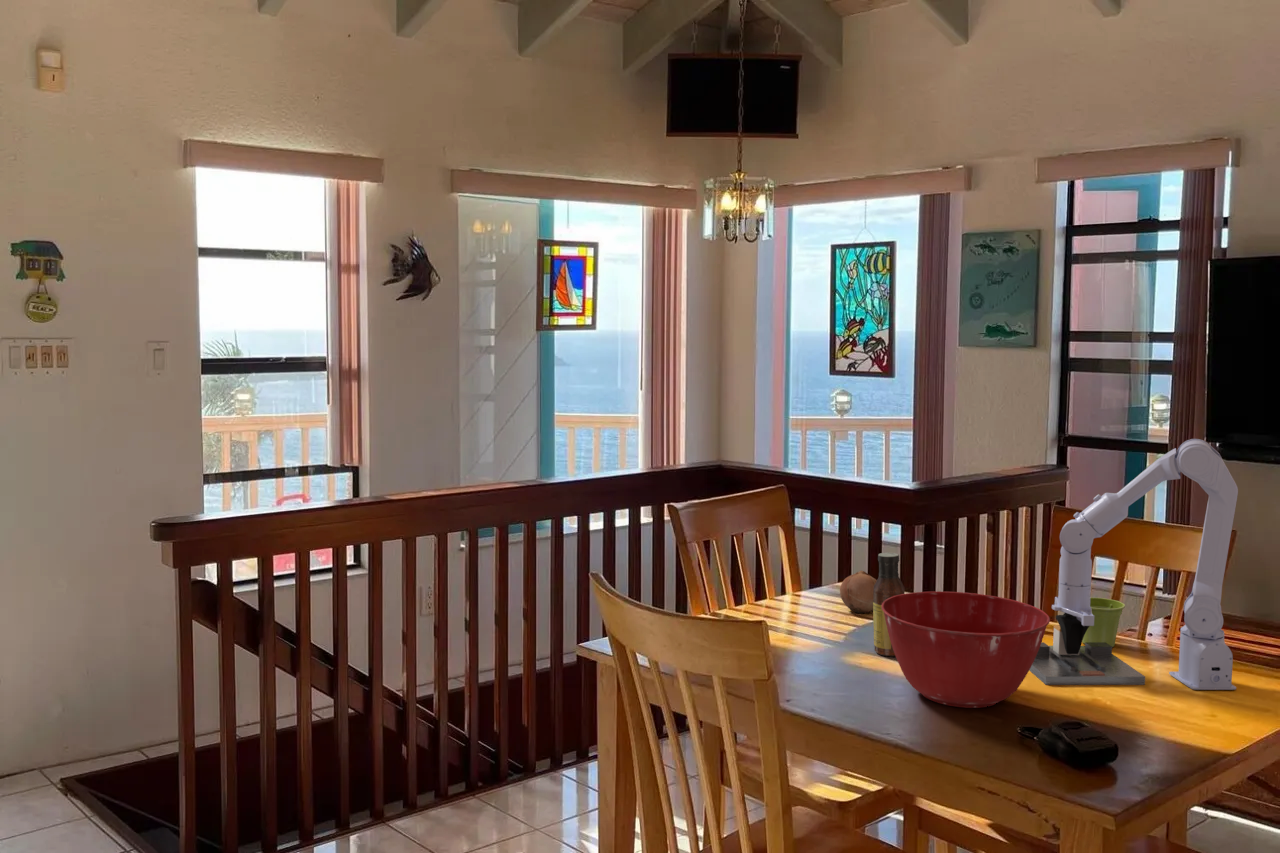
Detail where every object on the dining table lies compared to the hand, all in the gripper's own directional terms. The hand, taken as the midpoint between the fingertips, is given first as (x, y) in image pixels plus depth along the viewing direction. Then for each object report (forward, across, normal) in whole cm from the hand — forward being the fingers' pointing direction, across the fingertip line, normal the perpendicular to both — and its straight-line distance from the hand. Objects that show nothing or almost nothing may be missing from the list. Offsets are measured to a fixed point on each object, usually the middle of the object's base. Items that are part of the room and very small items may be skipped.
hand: (1072, 653), depth 222 cm
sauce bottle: (+3, -9, -33) cm, 34 cm away
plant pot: (+3, -15, +11) cm, 19 cm away
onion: (+3, -42, -32) cm, 53 cm away
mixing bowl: (+3, +17, -26) cm, 31 cm away
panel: (+2, +1, 0) cm, 3 cm away
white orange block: (+1, -3, 0) cm, 3 cm away
